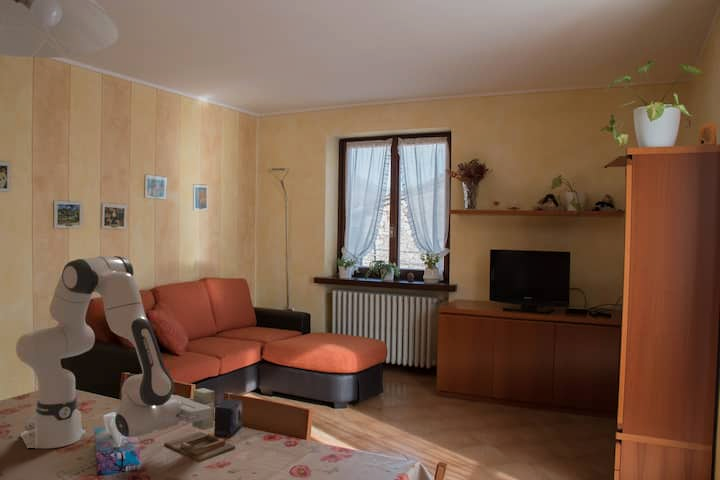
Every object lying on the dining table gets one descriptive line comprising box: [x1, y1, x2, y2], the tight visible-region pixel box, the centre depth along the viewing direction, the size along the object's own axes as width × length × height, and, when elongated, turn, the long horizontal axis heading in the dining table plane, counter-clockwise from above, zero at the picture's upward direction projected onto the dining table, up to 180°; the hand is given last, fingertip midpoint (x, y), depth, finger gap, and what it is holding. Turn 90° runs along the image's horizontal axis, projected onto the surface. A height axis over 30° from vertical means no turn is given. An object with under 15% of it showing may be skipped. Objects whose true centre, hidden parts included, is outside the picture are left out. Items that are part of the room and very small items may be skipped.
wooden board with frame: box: [163, 431, 236, 462], centre depth 194 cm, size 20×14×2 cm
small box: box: [213, 398, 243, 438], centre depth 208 cm, size 11×6×10 cm, turn 168°
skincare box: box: [191, 387, 216, 431], centre depth 192 cm, size 6×4×12 cm
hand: (205, 402), depth 193 cm, fingers closed on skincare box, 6 cm apart
